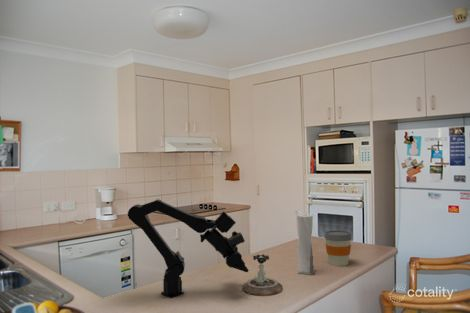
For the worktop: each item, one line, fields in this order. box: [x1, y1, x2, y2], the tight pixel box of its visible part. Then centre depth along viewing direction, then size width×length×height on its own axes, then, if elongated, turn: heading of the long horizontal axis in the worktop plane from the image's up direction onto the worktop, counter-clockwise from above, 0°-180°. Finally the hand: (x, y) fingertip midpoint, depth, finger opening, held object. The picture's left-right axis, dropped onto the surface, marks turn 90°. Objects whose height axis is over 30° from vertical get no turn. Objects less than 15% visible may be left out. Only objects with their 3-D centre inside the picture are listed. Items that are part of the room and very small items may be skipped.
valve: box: [252, 253, 270, 287], centre depth 152 cm, size 7×7×12 cm
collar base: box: [241, 277, 283, 297], centre depth 152 cm, size 16×16×2 cm
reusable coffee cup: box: [324, 230, 352, 267], centre depth 186 cm, size 13×13×15 cm
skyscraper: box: [295, 210, 317, 276], centre depth 173 cm, size 8×8×28 cm
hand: (246, 268), depth 151 cm, fingers open, 9 cm apart
